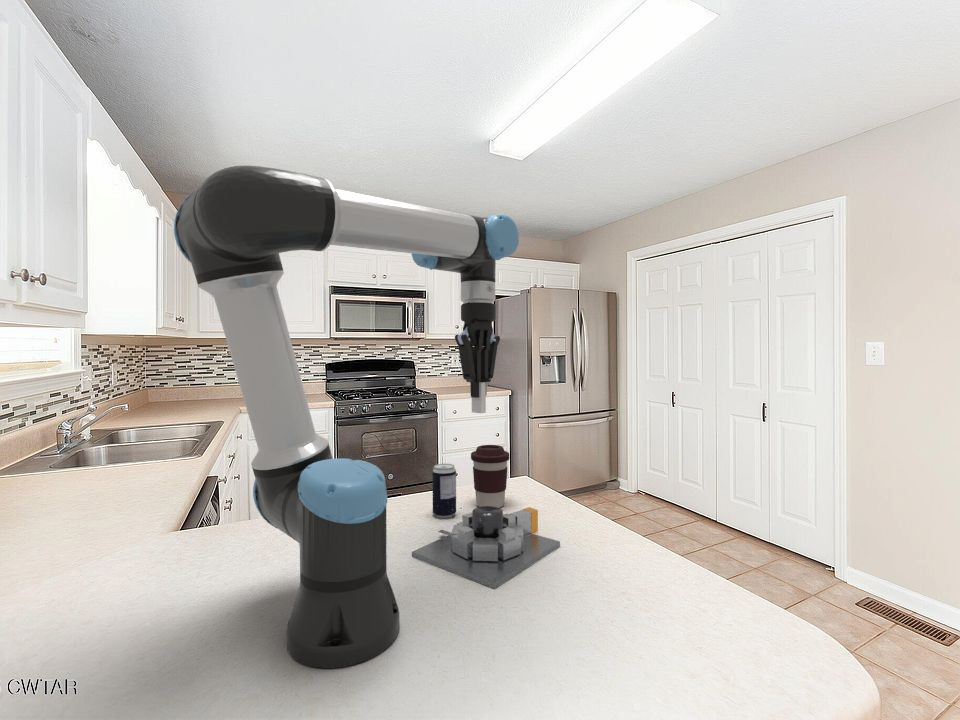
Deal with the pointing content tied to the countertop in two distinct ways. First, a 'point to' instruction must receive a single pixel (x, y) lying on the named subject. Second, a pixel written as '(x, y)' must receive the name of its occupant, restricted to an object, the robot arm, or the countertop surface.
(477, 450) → the coffee cup
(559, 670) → the countertop surface
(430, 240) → the robot arm
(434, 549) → the flange plate
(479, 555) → the segmented block ring
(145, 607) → the countertop surface
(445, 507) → the beverage can
